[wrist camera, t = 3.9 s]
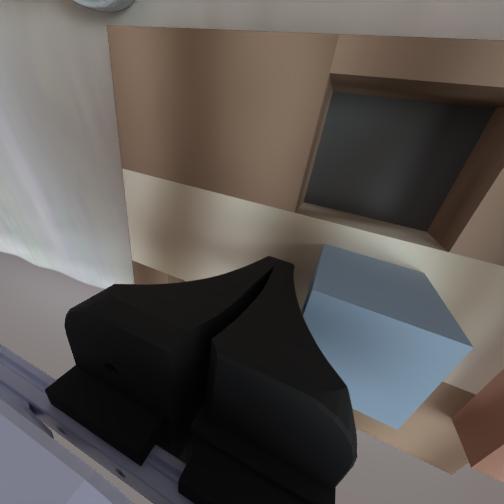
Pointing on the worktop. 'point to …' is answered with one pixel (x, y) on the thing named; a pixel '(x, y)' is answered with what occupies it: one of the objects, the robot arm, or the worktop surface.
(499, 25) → the worktop surface
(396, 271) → the block
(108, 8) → the ceramic mug
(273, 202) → the trap board
